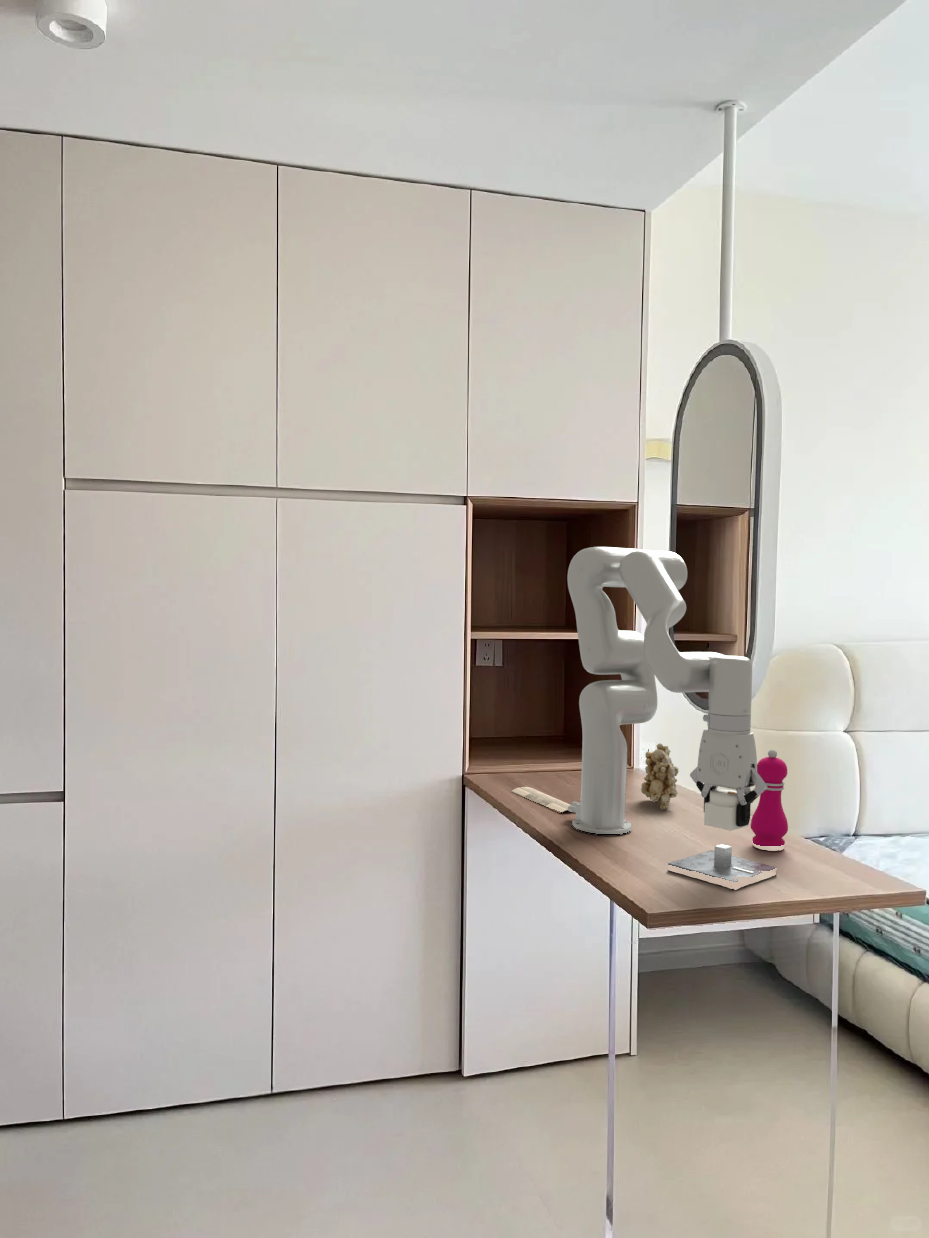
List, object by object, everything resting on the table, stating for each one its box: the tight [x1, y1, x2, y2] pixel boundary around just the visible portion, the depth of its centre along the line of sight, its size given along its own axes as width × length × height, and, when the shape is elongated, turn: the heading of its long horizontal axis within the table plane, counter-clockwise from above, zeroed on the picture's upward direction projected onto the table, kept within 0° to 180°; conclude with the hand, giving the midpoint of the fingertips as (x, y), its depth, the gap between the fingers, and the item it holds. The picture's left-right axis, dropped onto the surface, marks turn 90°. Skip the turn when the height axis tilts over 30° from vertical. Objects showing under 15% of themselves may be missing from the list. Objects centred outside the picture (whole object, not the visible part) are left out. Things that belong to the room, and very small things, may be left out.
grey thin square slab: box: [667, 843, 778, 882], centre depth 179 cm, size 14×14×5 cm
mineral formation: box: [640, 743, 680, 811], centre depth 231 cm, size 8×13×15 cm, turn 6°
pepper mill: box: [750, 749, 789, 846], centre depth 197 cm, size 7×7×20 cm
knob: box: [703, 788, 749, 832], centre depth 178 cm, size 6×6×6 cm
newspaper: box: [511, 786, 571, 813], centre depth 232 cm, size 24×7×2 cm, turn 25°
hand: (726, 821), depth 178 cm, fingers closed on knob, 6 cm apart
